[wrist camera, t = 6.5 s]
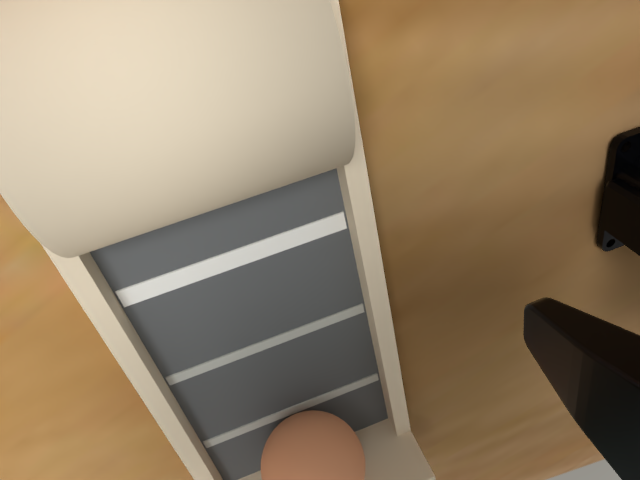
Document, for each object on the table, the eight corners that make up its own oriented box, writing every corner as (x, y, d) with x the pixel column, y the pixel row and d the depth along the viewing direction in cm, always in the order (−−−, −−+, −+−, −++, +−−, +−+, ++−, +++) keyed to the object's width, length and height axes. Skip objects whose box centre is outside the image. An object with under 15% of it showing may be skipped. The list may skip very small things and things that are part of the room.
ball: (342, 404, 30) (379, 499, 27) (255, 439, 29) (285, 539, 27) (342, 385, 25) (386, 497, 23) (239, 426, 24) (274, 545, 22)
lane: (275, -107, 19) (358, -97, 12) (376, 374, 34) (436, 488, 28) (-54, -19, 17) (-154, 44, 11) (208, 440, 33) (230, 576, 26)
